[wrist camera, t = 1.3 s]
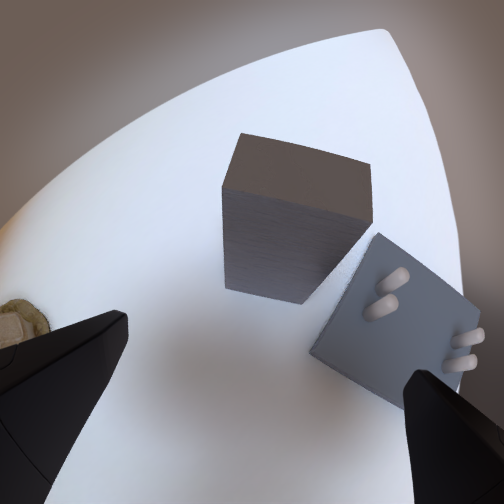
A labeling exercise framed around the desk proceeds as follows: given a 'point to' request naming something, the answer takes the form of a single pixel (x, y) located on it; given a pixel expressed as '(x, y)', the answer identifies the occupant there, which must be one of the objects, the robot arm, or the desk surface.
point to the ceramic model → (20, 322)
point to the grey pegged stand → (398, 325)
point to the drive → (290, 216)
